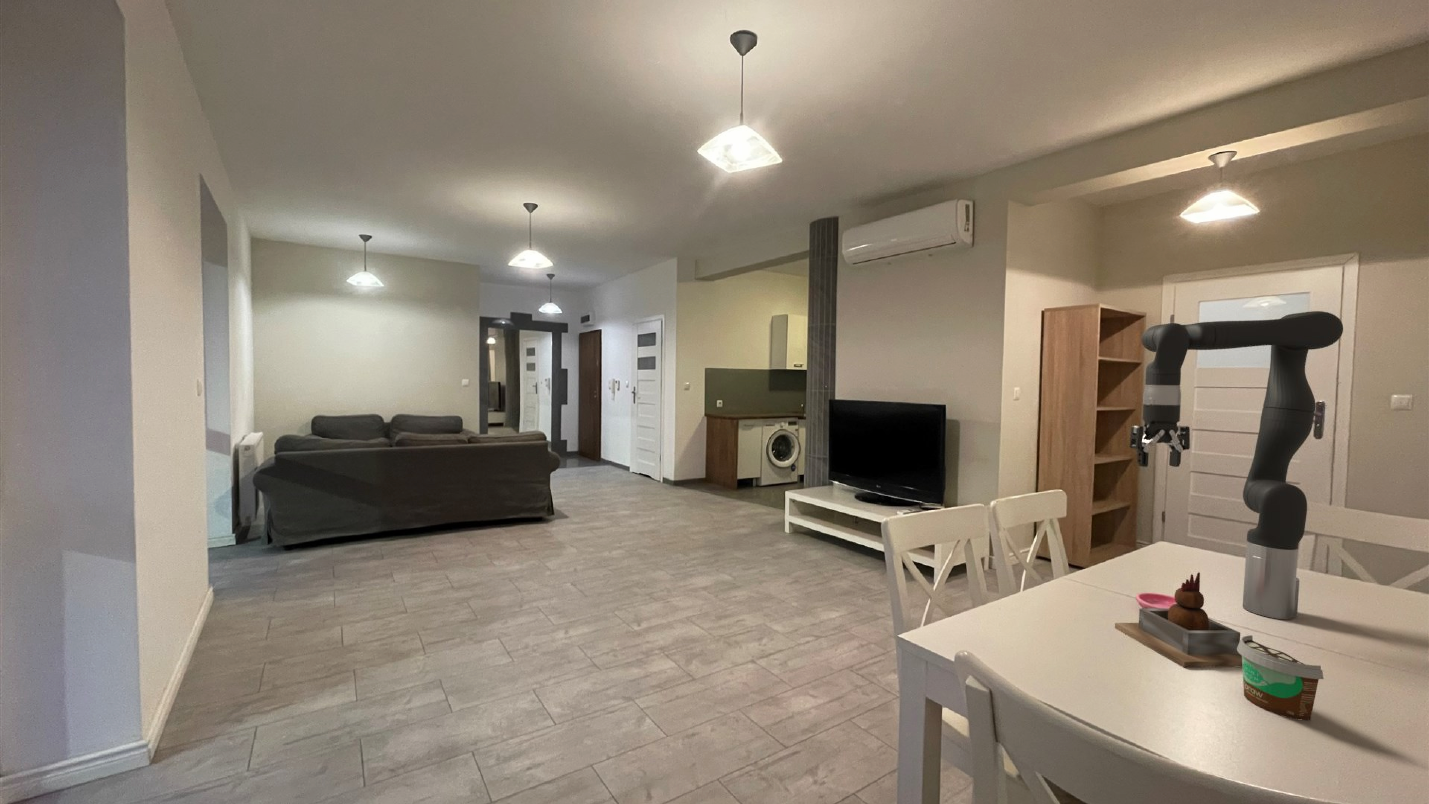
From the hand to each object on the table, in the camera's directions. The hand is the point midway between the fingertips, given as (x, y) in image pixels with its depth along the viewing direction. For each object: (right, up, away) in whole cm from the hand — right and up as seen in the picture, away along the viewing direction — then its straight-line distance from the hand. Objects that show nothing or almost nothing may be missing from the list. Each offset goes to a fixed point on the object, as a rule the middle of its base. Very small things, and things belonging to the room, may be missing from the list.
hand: (1158, 466), depth 145 cm
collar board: (-11, -37, -22) cm, 44 cm away
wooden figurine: (-11, -36, -22) cm, 43 cm away
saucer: (-1, -36, -4) cm, 37 cm away
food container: (-15, -38, -44) cm, 60 cm away
